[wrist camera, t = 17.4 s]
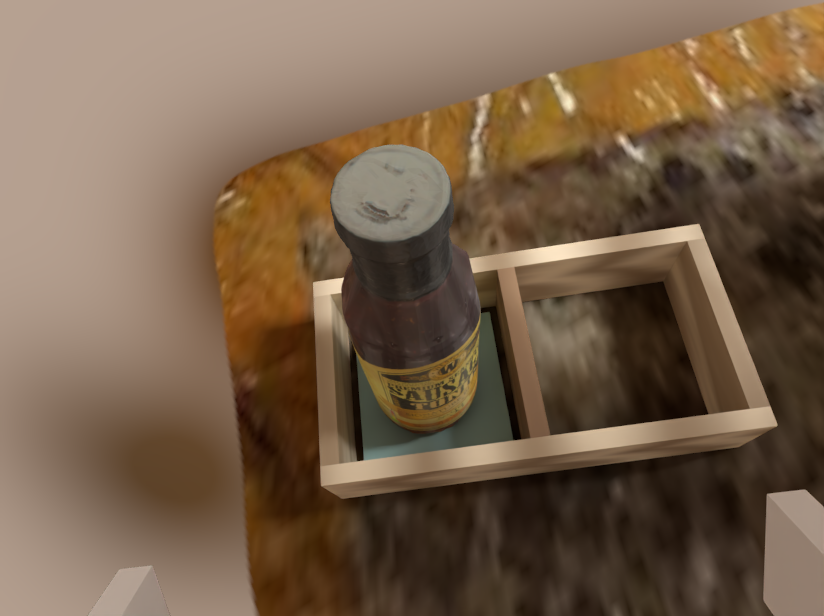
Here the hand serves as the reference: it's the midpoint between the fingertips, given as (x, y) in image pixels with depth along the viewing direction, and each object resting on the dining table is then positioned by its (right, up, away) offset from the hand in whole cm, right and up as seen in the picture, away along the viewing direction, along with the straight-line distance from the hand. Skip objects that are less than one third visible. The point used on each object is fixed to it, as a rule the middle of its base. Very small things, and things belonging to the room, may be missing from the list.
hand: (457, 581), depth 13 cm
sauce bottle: (0, +1, +24) cm, 24 cm away
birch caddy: (+6, +2, +24) cm, 25 cm away
